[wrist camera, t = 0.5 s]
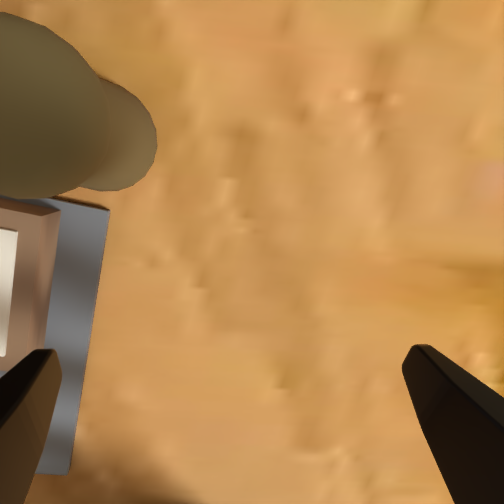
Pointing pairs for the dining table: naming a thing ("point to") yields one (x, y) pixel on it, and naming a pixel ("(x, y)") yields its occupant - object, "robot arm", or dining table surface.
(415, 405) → the robot arm
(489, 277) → the dining table surface
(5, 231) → the build base
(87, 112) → the olive pawn piece
